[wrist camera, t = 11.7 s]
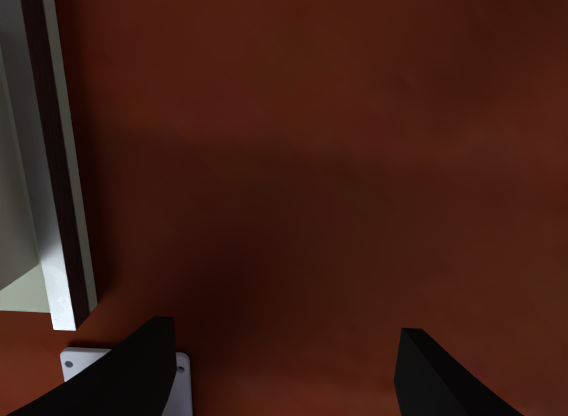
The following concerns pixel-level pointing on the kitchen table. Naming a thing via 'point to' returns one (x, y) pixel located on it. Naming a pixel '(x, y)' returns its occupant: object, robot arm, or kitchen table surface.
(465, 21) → the kitchen table surface
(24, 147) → the rack
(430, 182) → the kitchen table surface
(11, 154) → the clay bar
